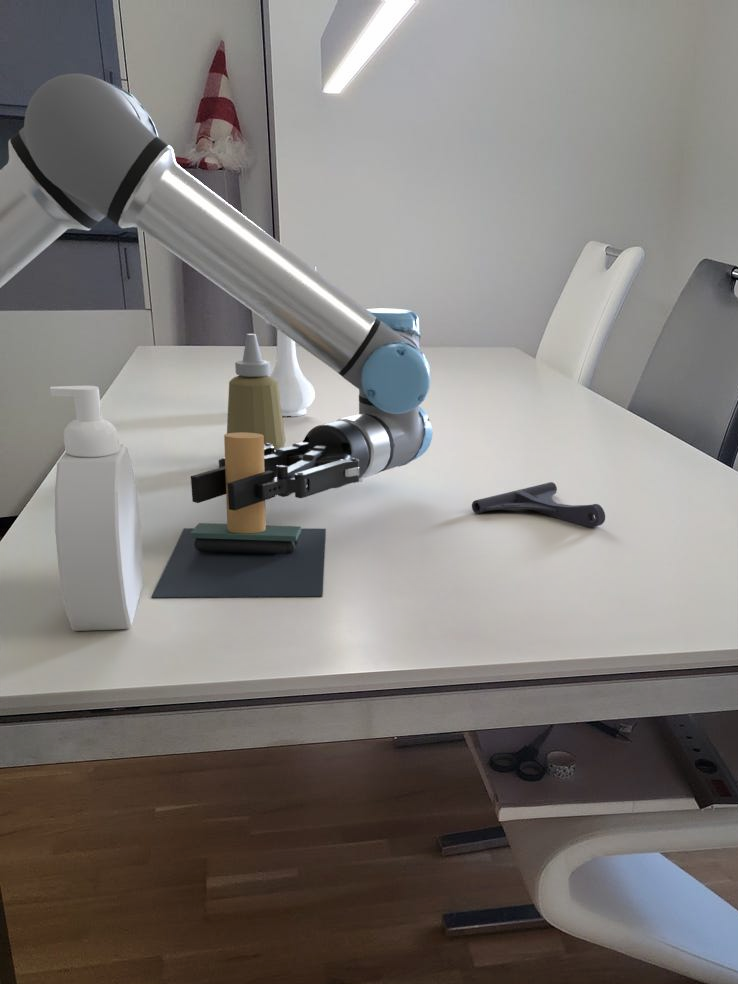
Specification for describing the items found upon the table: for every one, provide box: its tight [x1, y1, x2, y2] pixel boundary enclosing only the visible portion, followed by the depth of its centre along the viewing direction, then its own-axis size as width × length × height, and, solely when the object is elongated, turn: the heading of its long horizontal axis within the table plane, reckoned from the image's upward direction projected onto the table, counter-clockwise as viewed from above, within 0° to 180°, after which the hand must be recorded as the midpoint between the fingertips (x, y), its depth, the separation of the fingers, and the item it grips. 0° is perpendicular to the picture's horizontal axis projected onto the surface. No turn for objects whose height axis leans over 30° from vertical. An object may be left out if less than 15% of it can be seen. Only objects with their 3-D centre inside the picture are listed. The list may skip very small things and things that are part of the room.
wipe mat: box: [151, 527, 327, 599], centre depth 109 cm, size 16×22×1 cm
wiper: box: [190, 432, 302, 554], centre depth 109 cm, size 11×5×12 cm, turn 93°
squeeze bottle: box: [226, 333, 287, 451], centre depth 142 cm, size 8×8×18 cm
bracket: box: [471, 481, 606, 528], centre depth 128 cm, size 14×15×3 cm
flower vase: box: [263, 265, 317, 417], centre depth 176 cm, size 13×18×25 cm
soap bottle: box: [49, 385, 144, 632], centre depth 91 cm, size 16×5×20 cm, turn 12°
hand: (212, 493), depth 105 cm, fingers closed on wiper, 4 cm apart
